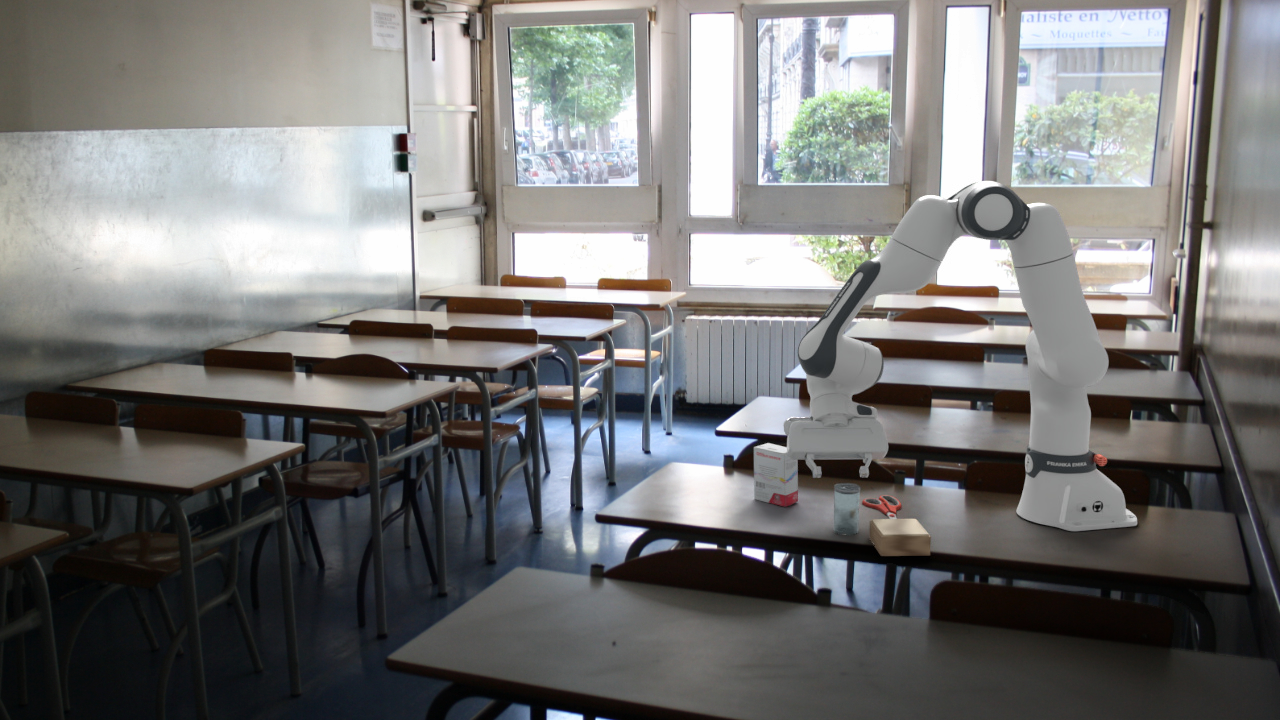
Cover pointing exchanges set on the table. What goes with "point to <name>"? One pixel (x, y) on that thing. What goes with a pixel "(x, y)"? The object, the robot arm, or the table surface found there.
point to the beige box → (899, 537)
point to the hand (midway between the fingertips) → (841, 476)
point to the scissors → (882, 502)
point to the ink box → (775, 475)
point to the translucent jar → (846, 508)
